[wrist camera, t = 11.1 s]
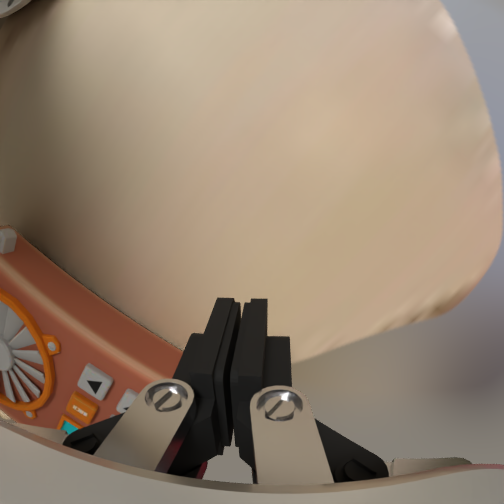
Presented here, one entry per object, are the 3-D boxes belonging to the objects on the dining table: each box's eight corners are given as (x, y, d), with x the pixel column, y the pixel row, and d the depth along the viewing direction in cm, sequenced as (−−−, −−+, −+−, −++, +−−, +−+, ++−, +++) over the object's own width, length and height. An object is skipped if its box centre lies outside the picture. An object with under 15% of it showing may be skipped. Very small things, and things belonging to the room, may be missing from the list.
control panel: (242, 408, 17) (143, 511, 18) (234, 357, 24) (152, 460, 25) (-32, 213, 14) (-61, 368, 14) (21, 209, 20) (-22, 340, 21)
